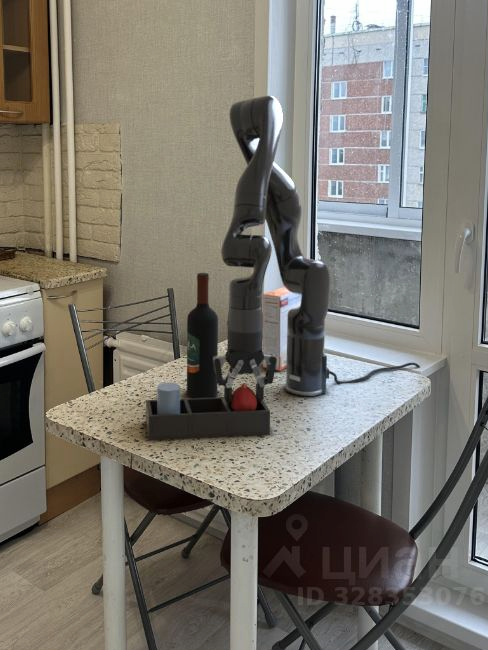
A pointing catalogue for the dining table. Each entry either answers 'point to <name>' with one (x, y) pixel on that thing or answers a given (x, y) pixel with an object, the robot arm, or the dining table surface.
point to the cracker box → (277, 323)
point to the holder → (206, 420)
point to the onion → (244, 399)
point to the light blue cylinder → (168, 398)
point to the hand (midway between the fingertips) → (243, 402)
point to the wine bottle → (202, 344)
